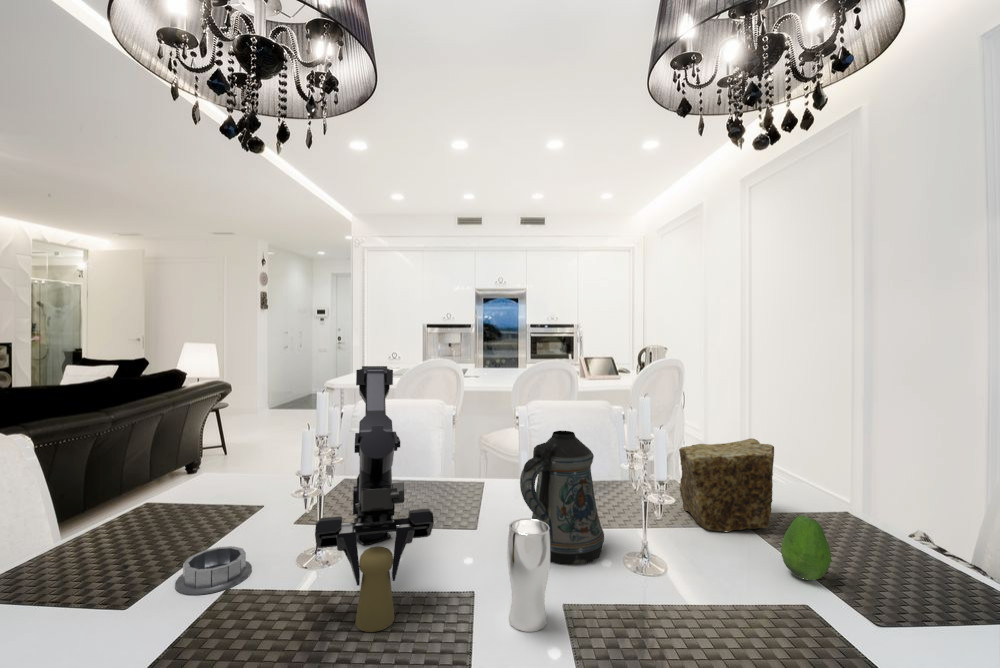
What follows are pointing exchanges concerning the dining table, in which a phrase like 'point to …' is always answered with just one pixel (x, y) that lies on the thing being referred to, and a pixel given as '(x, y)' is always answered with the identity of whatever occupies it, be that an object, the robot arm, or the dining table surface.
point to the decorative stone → (728, 484)
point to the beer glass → (528, 572)
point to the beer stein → (564, 498)
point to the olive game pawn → (375, 590)
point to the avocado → (806, 549)
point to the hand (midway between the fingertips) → (376, 582)
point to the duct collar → (213, 571)
